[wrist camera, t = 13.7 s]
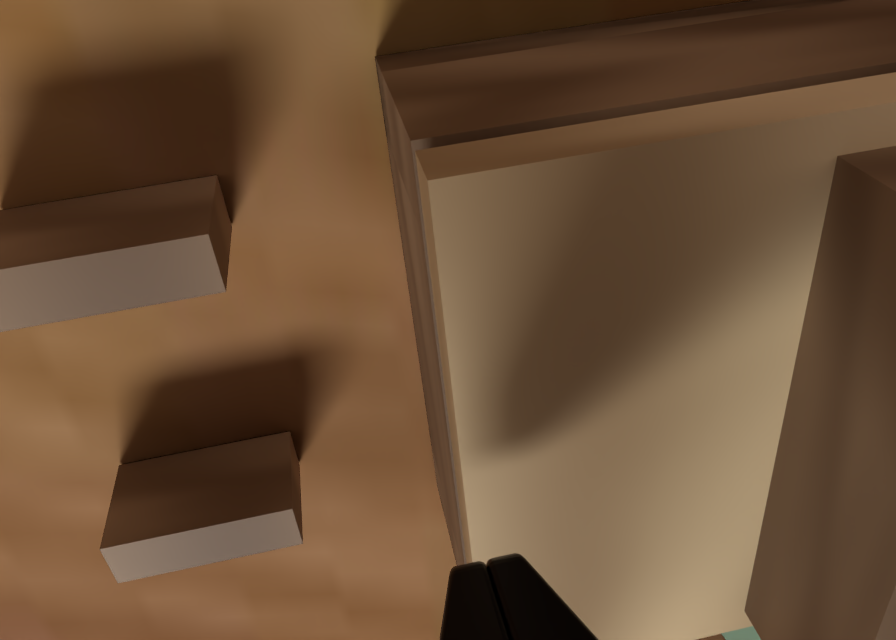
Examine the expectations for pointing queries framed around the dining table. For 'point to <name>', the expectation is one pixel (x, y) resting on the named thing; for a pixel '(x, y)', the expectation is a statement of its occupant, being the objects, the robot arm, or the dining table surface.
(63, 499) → the dining table surface
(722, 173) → the lid
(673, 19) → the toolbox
